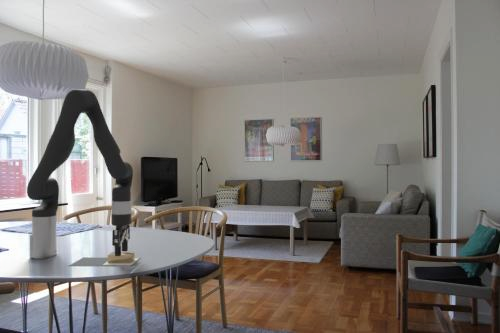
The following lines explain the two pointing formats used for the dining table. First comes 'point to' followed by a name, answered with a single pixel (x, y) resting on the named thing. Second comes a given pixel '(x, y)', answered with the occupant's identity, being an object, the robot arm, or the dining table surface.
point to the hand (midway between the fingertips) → (121, 253)
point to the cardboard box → (121, 257)
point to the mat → (101, 262)
